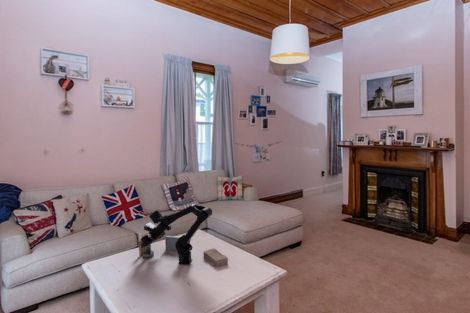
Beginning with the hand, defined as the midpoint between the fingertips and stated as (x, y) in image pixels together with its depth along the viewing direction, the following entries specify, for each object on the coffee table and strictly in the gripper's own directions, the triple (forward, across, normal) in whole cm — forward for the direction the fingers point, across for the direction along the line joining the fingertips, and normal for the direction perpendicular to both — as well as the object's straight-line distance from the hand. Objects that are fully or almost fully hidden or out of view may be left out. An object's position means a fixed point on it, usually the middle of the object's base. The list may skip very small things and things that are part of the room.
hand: (146, 244), depth 179 cm
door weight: (+4, 0, +6) cm, 8 cm away
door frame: (+1, -13, +10) cm, 16 cm away
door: (+8, -4, +2) cm, 9 cm away
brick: (-26, -7, +38) cm, 46 cm away
